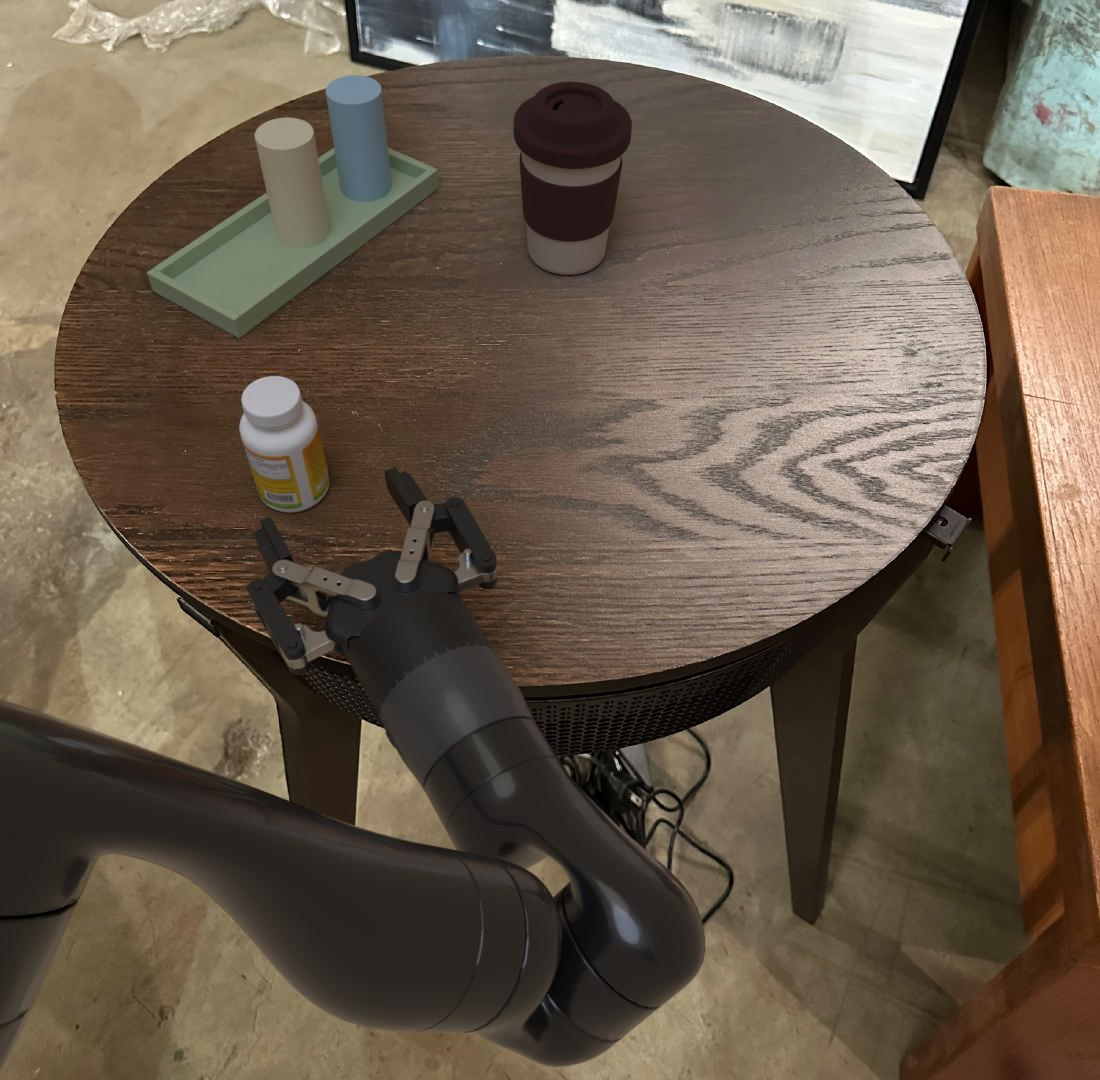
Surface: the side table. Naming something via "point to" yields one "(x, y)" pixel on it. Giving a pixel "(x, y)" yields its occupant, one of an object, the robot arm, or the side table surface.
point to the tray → (280, 249)
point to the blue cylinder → (359, 137)
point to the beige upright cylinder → (293, 181)
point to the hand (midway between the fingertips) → (329, 501)
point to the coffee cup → (570, 173)
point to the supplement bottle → (283, 445)
